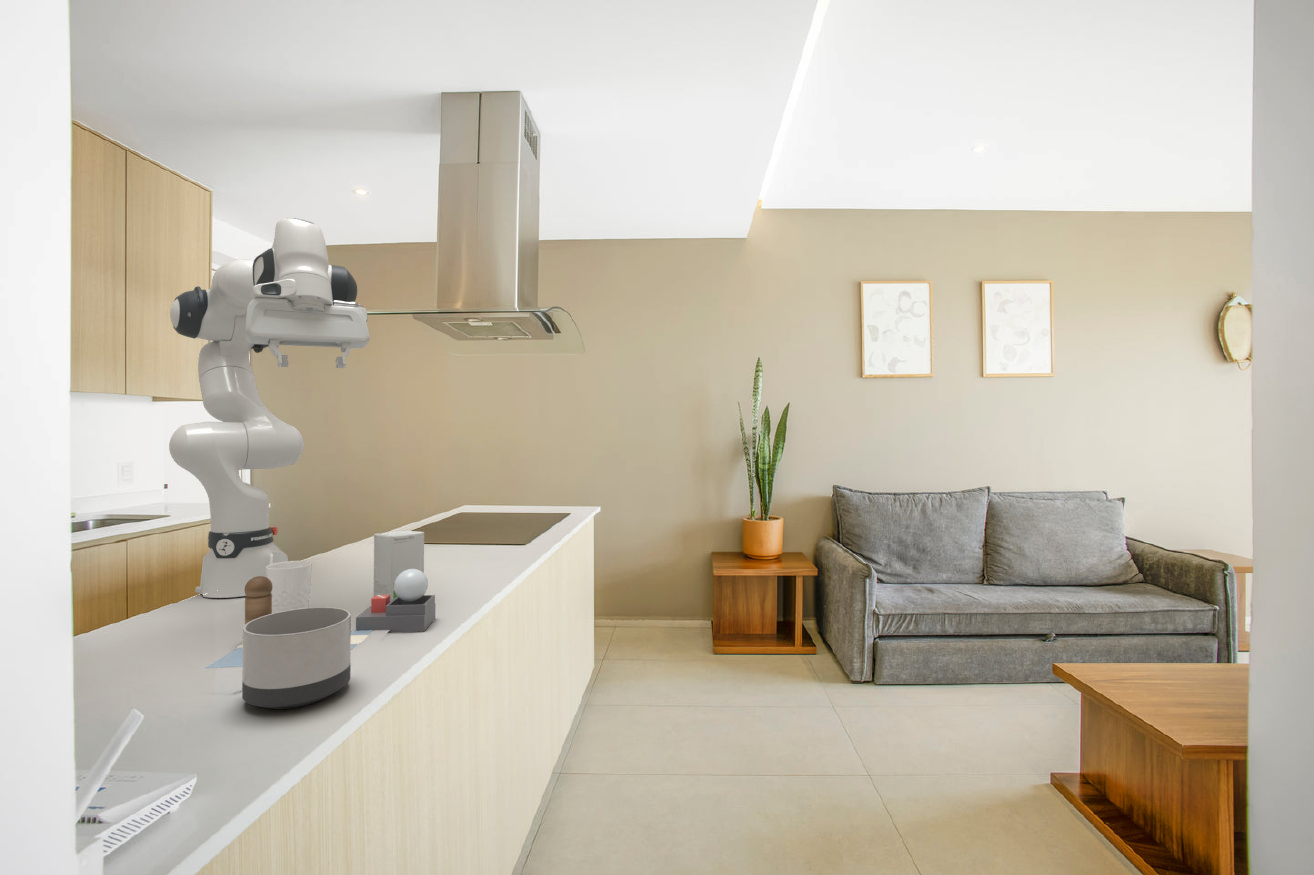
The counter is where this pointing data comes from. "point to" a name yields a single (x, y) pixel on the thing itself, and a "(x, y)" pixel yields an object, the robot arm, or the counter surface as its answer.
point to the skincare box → (395, 558)
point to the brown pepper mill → (258, 598)
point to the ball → (411, 585)
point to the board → (236, 656)
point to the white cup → (290, 584)
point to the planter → (296, 657)
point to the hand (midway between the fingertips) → (313, 366)
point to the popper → (397, 614)
